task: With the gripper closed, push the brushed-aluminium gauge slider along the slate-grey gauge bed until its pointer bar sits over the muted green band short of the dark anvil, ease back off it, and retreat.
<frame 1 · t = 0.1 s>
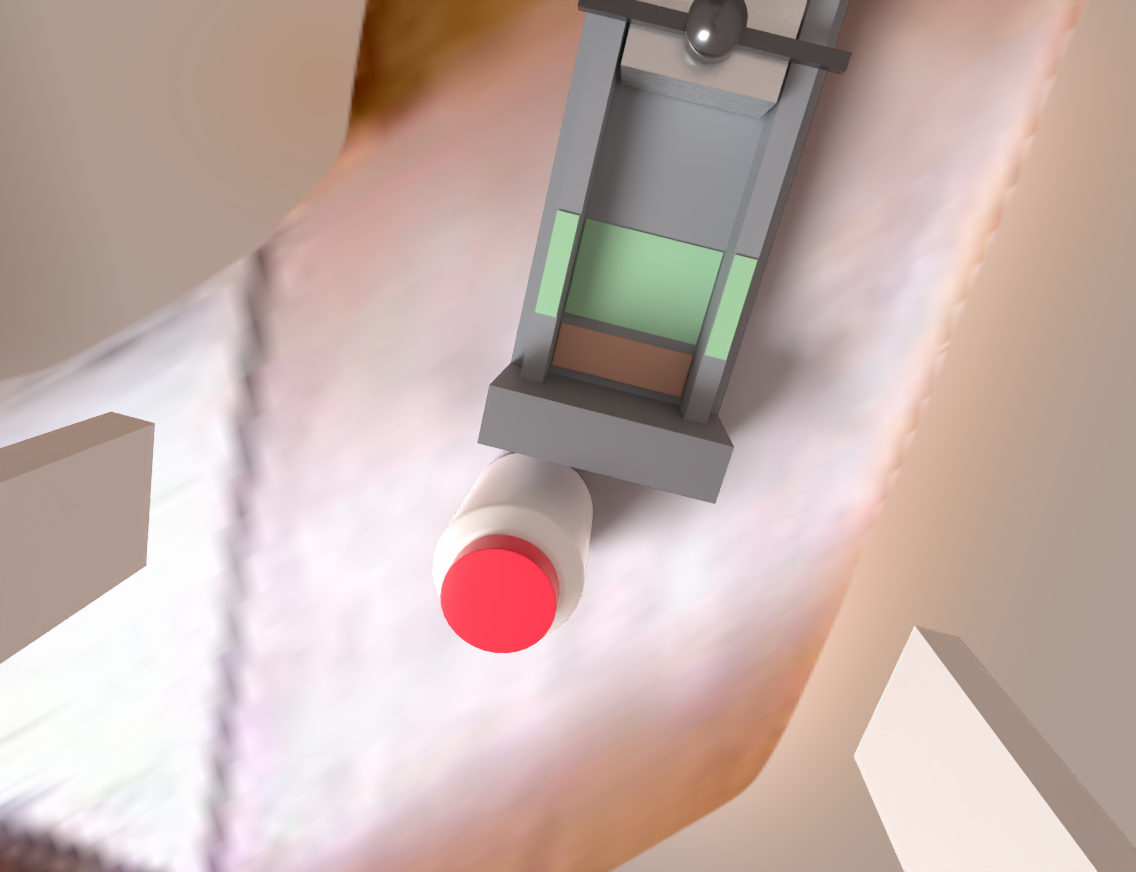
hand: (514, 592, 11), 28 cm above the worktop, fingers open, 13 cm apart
gauge bed: (661, 207, 36), on the worktop
slider: (709, 40, 30), point 4 cm above the worktop, slide at 0.0 cm
pill bottle: (531, 509, 41), on the worktop
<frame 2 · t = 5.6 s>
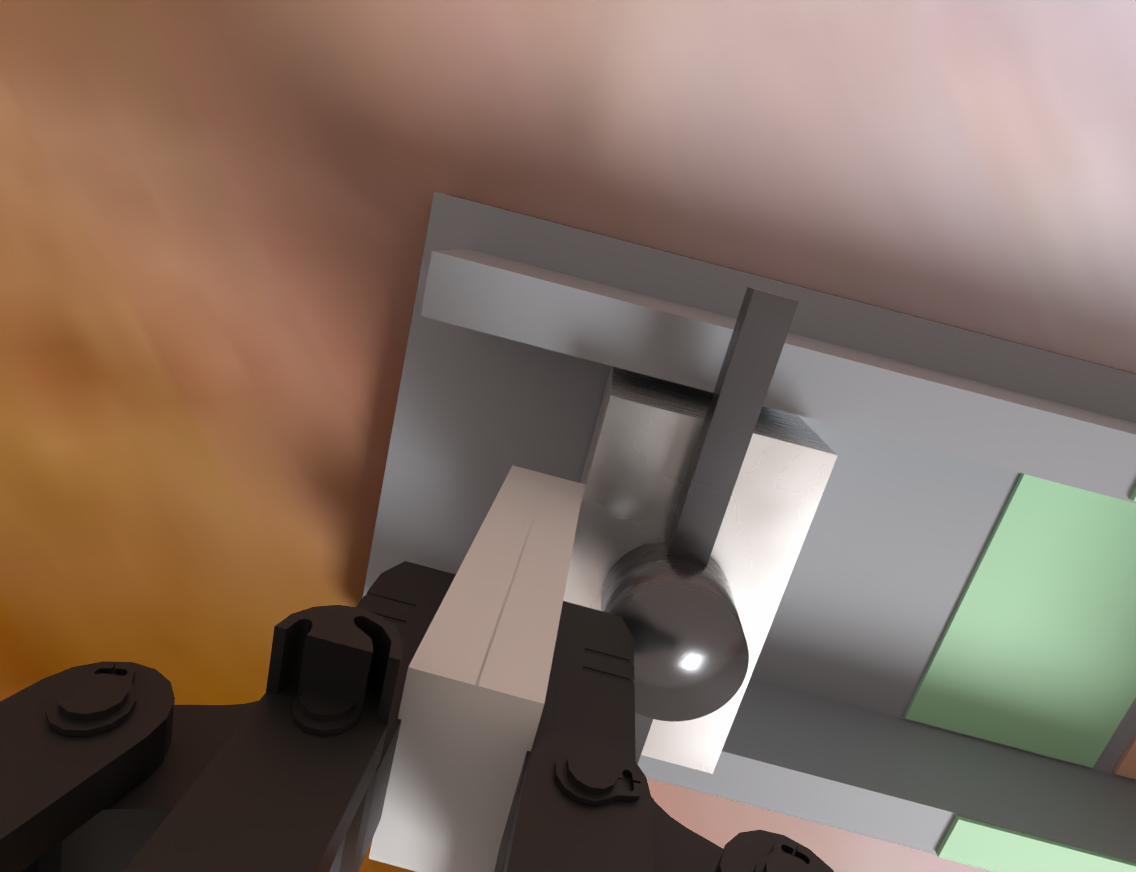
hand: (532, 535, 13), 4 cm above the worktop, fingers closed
gauge bed: (884, 556, 17), on the worktop
slider: (662, 572, 13), point 4 cm above the worktop, slide at 0.8 cm, touching gripper
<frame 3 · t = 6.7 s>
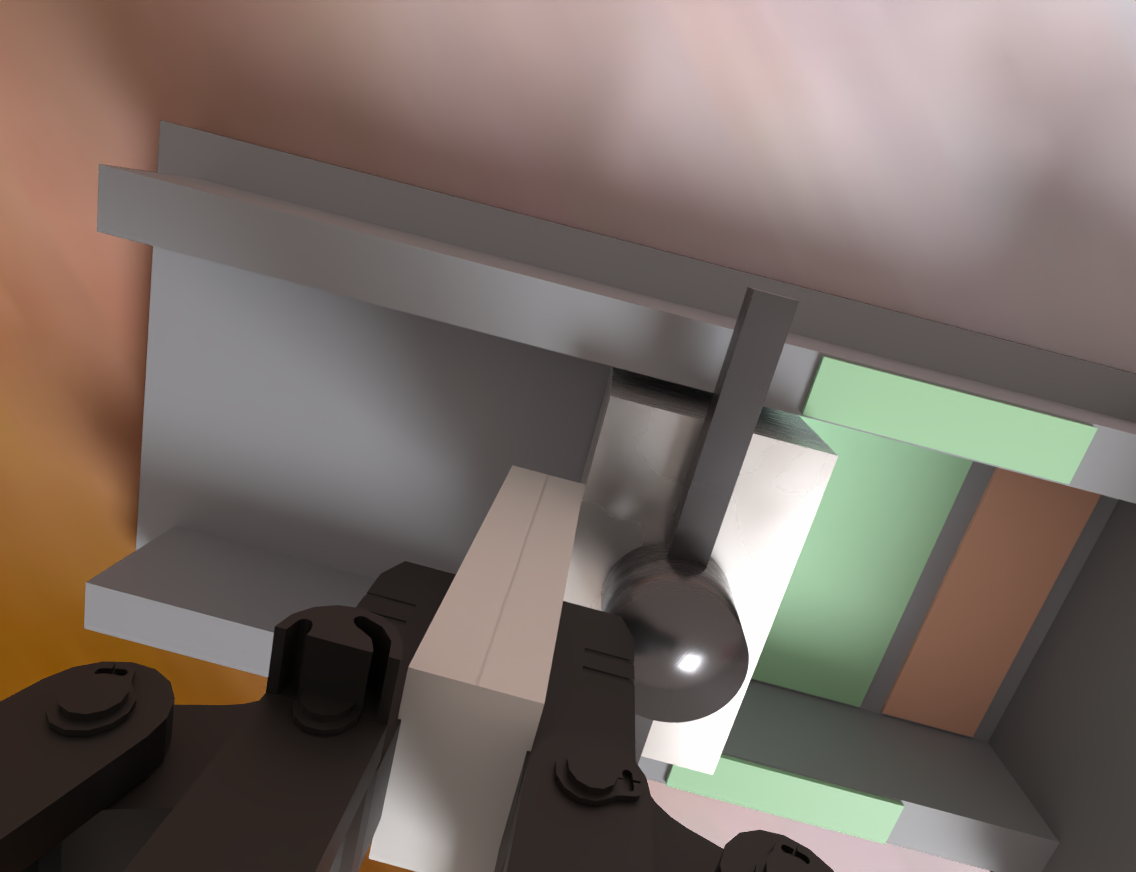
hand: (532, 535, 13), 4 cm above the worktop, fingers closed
gauge bed: (654, 496, 17), on the worktop
slider: (662, 572, 13), point 4 cm above the worktop, slide at 7.0 cm, touching gripper
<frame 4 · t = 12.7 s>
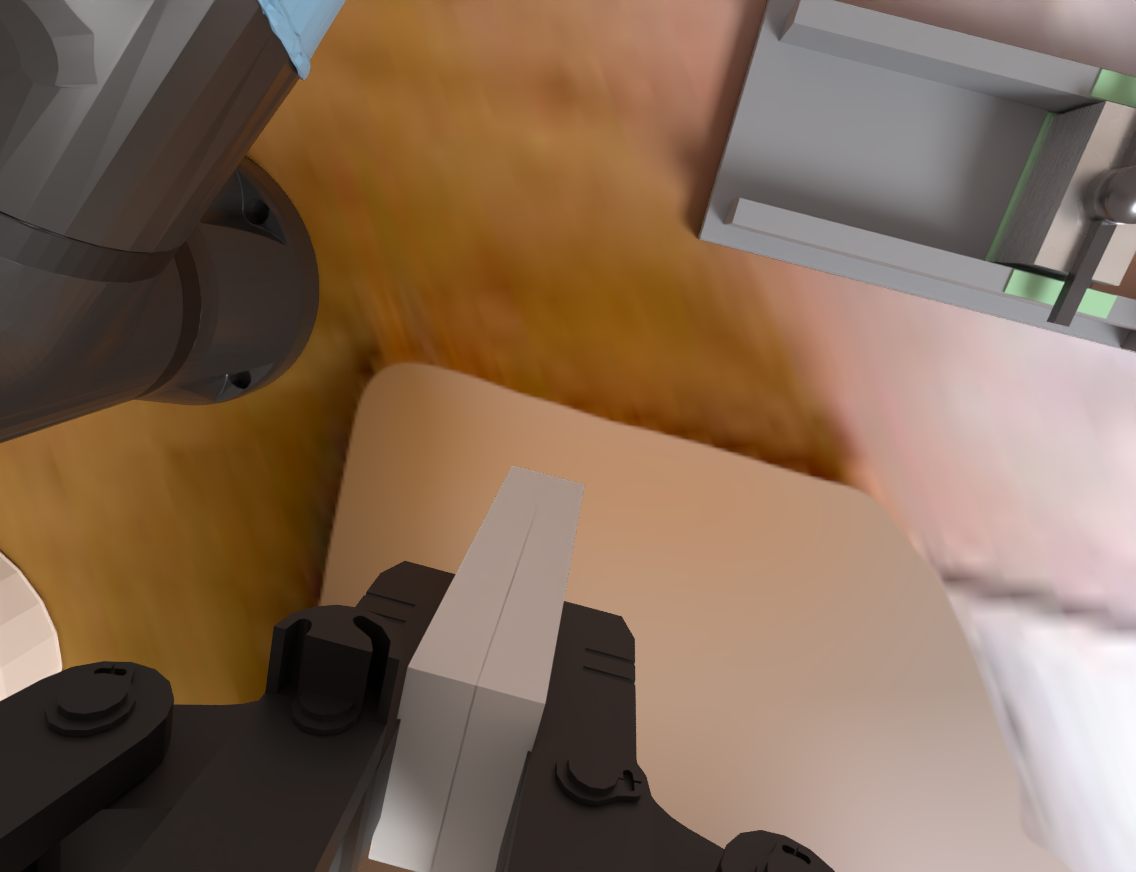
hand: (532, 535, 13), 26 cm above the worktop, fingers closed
gauge bed: (973, 185, 35), on the worktop
slider: (1096, 198, 31), point 4 cm above the worktop, slide at 10.7 cm
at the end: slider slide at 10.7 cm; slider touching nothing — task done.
